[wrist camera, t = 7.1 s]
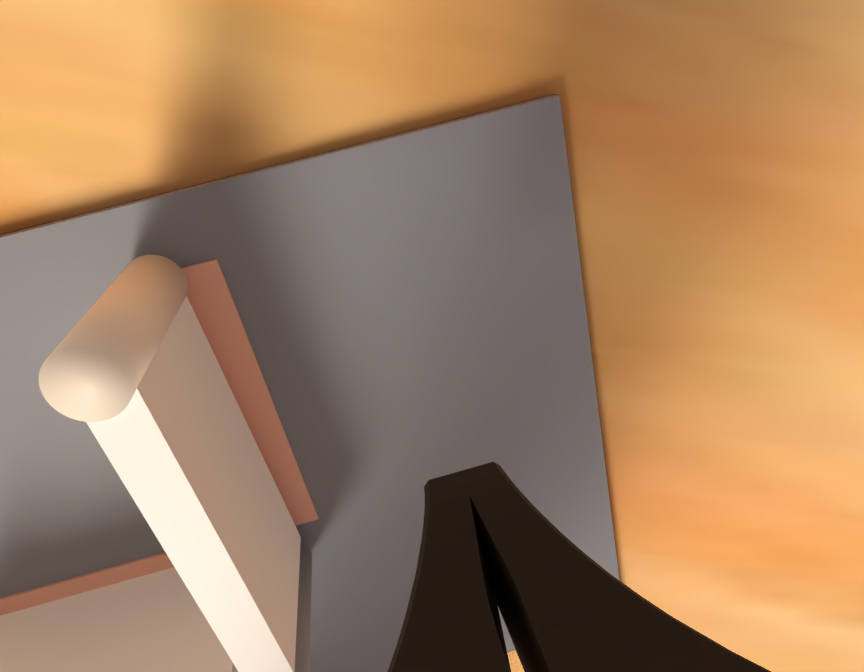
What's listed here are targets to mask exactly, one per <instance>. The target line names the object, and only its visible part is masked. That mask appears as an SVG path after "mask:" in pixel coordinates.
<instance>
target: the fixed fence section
mask: <svg viewBox="0 0 864 672" xmlns="http://www.w3.org/2000/svg"><path fill="white" fill-rule="evenodd" d="M0 672H238V670H237V669H236V667H235V665H234V664H233V662H232V660H231V659H230V657H229V655H228V654H227V652H226V651H225V649H224V647H223V646H222V644H221V642H220V641H219V639H218V637H217V636H216V634H215V632H214V631H213V629H212V628H211V626H210V624H209V623H208V621H207V619H206V618H205V616H204V614H203V613H202V611H201V610H200V608H199V606H198V605H197V603H196V601H195V600H194V598H193V596H192V595H191V593H190V592H189V590H188V588H187V587H186V585H185V583H184V582H183V580H182V578H181V577H180V575H179V574H178V572H177V570H176V569H175V567H173V568H169V569H166V570H162V571H158V572H155V573H151V574H148V575H144V576H141V577H137V578H133V579H130V580H126V581H123V582H119V583H116V584H112V585H108V586H105V587H101V588H98V589H94V590H90V591H87V592H83V593H80V594H76V595H73V596H69V597H65V598H62V599H58V600H55V601H51V602H48V603H44V604H40V605H37V606H33V607H30V608H26V609H23V610H19V611H15V612H12V613H8V614H5V615H1V616H0Z"/></svg>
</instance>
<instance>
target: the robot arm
mask: <svg viewBox="0 0 864 672" xmlns="http://www.w3.org/2000/svg"><path fill="white" fill-rule="evenodd" d="M424 493H425V510H424V522H423V531H422V539H421V545H420V551H419V557H418V563H417V569H416V574H415V579H414V583H413V587H412V591H411V595H410V599H409V603H408V607H407V611H406V615H405V619H404V622H403V626H402V629H401V633H400V636H399V639H398V642H397V646H396V649H395V652H394V654H393V657H392V660H391V663H390V666H389V669H388V672H511V669H510V664H509V659H508V654H507V649H506V644H505V639H504V634H503V629H502V625H501V620H500V615H499V610H500V612H501V615H502V617H503V620H504V622H505V625H506V627H507V629H508V632H509V634H510V637H511V639H512V642H513V644H514V647H515V649H516V651H517V654H518V656H519V659H520V661H521V664H522V666H523V669H524V671H525V672H771V671H769V670H767V669H765V668H763V667H761V666H759V665H757V664H755V663H753V662H751V661H749V660H747V659H745V658H743V657H742V656H740V655H738V654H736V653H734V652H732V651H730V650H728V649H727V648H725V647H723V646H721V645H720V644H718V643H716V642H715V641H713V640H711V639H709V638H708V637H706V636H704V635H702V634H701V633H699V632H697V631H696V630H694V629H692V628H690V627H689V626H687V625H685V624H683V623H682V622H680V621H678V620H677V619H675V618H673V617H672V616H670V615H669V614H667V613H666V612H664V611H663V610H661V609H660V608H658V607H656V606H655V605H653V604H652V603H650V602H649V601H647V600H646V599H644V598H643V597H641V596H640V595H639V594H637V593H636V592H634V591H633V590H632V589H630V588H629V587H627V586H626V585H625V584H623V583H622V582H620V581H619V580H618V579H616V578H615V577H614V576H613V575H611V574H610V573H609V572H607V571H606V570H605V569H604V568H602V567H601V566H600V565H598V564H597V563H596V562H595V561H594V560H592V559H591V558H590V557H589V556H588V555H586V554H585V553H584V552H583V551H582V550H580V549H579V548H578V547H577V546H576V545H575V544H573V543H572V542H571V541H570V540H569V539H568V538H567V537H566V536H564V535H563V534H562V533H561V532H560V531H559V530H558V529H557V528H556V527H555V526H554V525H553V524H552V523H551V522H550V521H549V520H548V519H547V518H546V517H544V516H543V515H542V514H541V513H540V512H539V511H538V510H537V508H536V507H535V506H534V505H533V504H532V503H531V502H530V501H529V500H528V499H527V498H526V497H525V496H524V495H523V494H522V492H521V491H520V490H519V489H518V488H517V487H516V485H515V484H514V483H513V482H512V481H511V479H510V478H509V477H508V476H507V474H506V473H505V472H504V470H503V469H502V467H501V466H500V465H499V464H497V463H495V462H490V463H487V464H483V465H480V466H476V467H473V468H469V469H466V470H462V471H459V472H455V473H451V474H448V475H444V476H441V477H437V478H434V479H430V480H428V482H427V483H426V484H425V486H424ZM498 607H499V610H498Z"/></svg>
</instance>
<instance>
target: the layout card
mask: <svg viewBox="0 0 864 672" xmlns="http://www.w3.org/2000/svg"><path fill="white" fill-rule="evenodd" d="M144 255H160V256H163V257H166V258H168V259H170V260H172V261H173V262H175V263H176V264H177V265H178V266H179V267H180V268H181V269H182V271H183V272H184V274H185V276H186V278H187V282H188V292H187V295H186V296H187V298H188V300H189V302H190V304H191V306H192V308H193V311H194V313H195V315H196V317H197V319H198V321H199V323H200V325H201V327H202V330H203V332H204V334H205V336H206V338H207V340H208V342H209V344H210V346H211V349H212V351H213V353H214V355H215V357H216V359H217V361H218V363H219V365H220V368H221V370H222V372H223V374H224V376H225V378H226V380H227V382H228V384H229V387H230V389H231V391H232V393H233V395H234V397H235V399H236V401H237V403H238V405H239V408H240V410H241V412H242V414H243V416H244V418H245V420H246V422H247V424H248V427H249V429H250V431H251V433H252V435H253V437H254V439H255V441H256V443H257V446H258V448H259V450H260V452H261V454H262V456H263V458H264V460H265V462H266V465H267V467H268V469H269V471H270V473H271V475H272V477H273V479H274V481H275V484H276V486H277V488H278V490H279V492H280V494H281V496H282V498H283V500H284V503H285V505H286V507H287V509H288V511H289V513H290V515H291V517H292V519H293V522H294V524H295V526H296V528H297V530H298V532H299V534H300V536H301V543H302V544H304V545H306V546H307V547H308V548H309V549H310V551H311V553H312V589H311V634H310V672H388V669H389V666H390V663H391V660H392V657H393V654H394V652H395V649H396V646H397V642H398V639H399V636H400V633H401V629H402V626H403V622H404V619H405V615H406V611H407V607H408V603H409V599H410V595H411V591H412V587H413V583H414V579H415V574H416V569H417V563H418V557H419V551H420V545H421V539H422V531H423V522H424V510H425V493H424V486H425V484H426V483H427V482H428V480H430V479H434V478H437V477H441V476H444V475H448V474H451V473H455V472H459V471H462V470H466V469H469V468H473V467H476V466H480V465H483V464H487V463H490V462H495V463H497V464H499V465H500V466H501V467H502V469H503V470H504V472H505V473H506V474H507V476H508V477H509V478H510V479H511V481H512V482H513V483H514V484H515V485H516V487H517V488H518V489H519V490H520V491H521V492H522V494H523V495H524V496H525V497H526V498H527V499H528V500H529V501H530V502H531V503H532V504H533V505H534V506H535V507H536V508H537V510H538V511H539V512H540V513H541V514H542V515H543V516H544V517H546V518H547V519H548V520H549V521H550V522H551V523H552V524H553V525H554V526H555V527H556V528H557V529H558V530H559V531H560V532H561V533H562V534H563V535H564V536H566V537H567V538H568V539H569V540H570V541H571V542H572V543H573V544H575V545H576V546H577V547H578V548H579V549H580V550H582V551H583V552H584V553H585V554H586V555H588V556H589V557H590V558H591V559H592V560H594V561H595V562H596V563H597V564H598V565H600V566H601V567H602V568H604V569H605V570H606V571H607V572H609V573H610V574H611V575H613V576H614V577H615V578H616V579H618V580H619V572H618V564H617V556H616V548H615V539H614V531H613V523H612V515H611V507H610V499H609V491H608V483H607V475H606V466H605V458H604V450H603V442H602V434H601V426H600V418H599V410H598V402H597V393H596V385H595V377H594V369H593V361H592V353H591V345H590V337H589V329H588V320H587V312H586V304H585V296H584V288H583V280H582V272H581V264H580V256H579V247H578V239H577V231H576V223H575V215H574V207H573V199H572V191H571V183H570V174H569V166H568V158H567V150H566V142H565V134H564V126H563V118H562V110H561V101H560V95H556V94H554V95H550V96H546V97H542V98H538V99H534V100H530V101H526V102H522V103H518V104H514V105H510V106H507V107H503V108H499V109H495V110H491V111H487V112H483V113H479V114H475V115H471V116H467V117H463V118H459V119H455V120H451V121H448V122H444V123H440V124H436V125H432V126H428V127H424V128H420V129H416V130H412V131H408V132H404V133H400V134H396V135H392V136H389V137H385V138H381V139H377V140H373V141H369V142H365V143H361V144H357V145H353V146H349V147H345V148H341V149H337V150H333V151H330V152H326V153H322V154H318V155H314V156H310V157H306V158H302V159H298V160H294V161H290V162H286V163H282V164H278V165H274V166H271V167H267V168H263V169H259V170H255V171H251V172H247V173H243V174H239V175H235V176H231V177H227V178H223V179H219V180H215V181H212V182H208V183H204V184H200V185H196V186H192V187H188V188H184V189H180V190H176V191H172V192H168V193H164V194H160V195H157V196H153V197H149V198H145V199H141V200H137V201H133V202H129V203H125V204H121V205H117V206H113V207H109V208H105V209H101V210H98V211H94V212H90V213H86V214H82V215H78V216H74V217H70V218H66V219H62V220H58V221H54V222H50V223H46V224H42V225H39V226H35V227H31V228H27V229H23V230H19V231H15V232H11V233H7V234H3V235H0V616H1V615H5V614H8V613H12V612H15V611H19V610H23V609H26V608H30V607H33V606H37V605H40V604H44V603H48V602H51V601H55V600H58V599H62V598H65V597H69V596H73V595H76V594H80V593H83V592H87V591H90V590H94V589H98V588H101V587H105V586H108V585H112V584H116V583H119V582H123V581H126V580H130V579H133V578H137V577H141V576H144V575H148V574H151V573H155V572H158V571H162V570H166V569H169V568H173V567H174V565H173V564H172V562H171V560H170V559H169V557H168V556H167V554H166V552H165V551H164V549H163V547H162V546H161V544H160V542H159V541H158V539H157V537H156V536H155V534H154V533H153V531H152V529H151V528H150V526H149V524H148V523H147V521H146V519H145V518H144V516H143V515H142V513H141V511H140V510H139V508H138V506H137V505H136V503H135V501H134V500H133V498H132V497H131V495H130V493H129V492H128V490H127V488H126V487H125V485H124V483H123V482H122V480H121V479H120V477H119V475H118V474H117V472H116V470H115V469H114V467H113V465H112V464H111V462H110V461H109V459H108V457H107V456H106V454H105V452H104V451H103V449H102V447H101V446H100V444H99V443H98V441H97V439H96V438H95V436H94V434H93V433H92V431H91V429H90V428H89V426H88V424H87V423H86V422H84V421H78V420H75V419H72V418H69V417H67V416H65V415H63V414H61V413H59V412H58V411H56V410H55V409H54V408H53V407H52V406H51V405H50V404H49V403H48V402H47V401H46V399H45V398H44V396H43V394H42V393H41V390H40V387H39V372H40V368H41V366H42V364H43V363H44V361H45V360H46V359H47V357H48V356H49V355H50V354H51V353H52V352H53V351H54V349H55V348H56V347H57V346H58V345H59V344H60V342H61V341H62V340H63V339H64V338H65V337H66V336H67V334H68V333H69V332H70V331H71V330H72V329H73V327H74V326H75V325H76V324H77V323H78V322H79V321H80V319H81V318H82V317H83V316H84V315H85V314H86V312H87V311H88V310H89V309H90V308H91V307H92V306H93V304H94V303H95V302H96V301H97V300H98V299H99V298H100V296H101V295H102V294H103V293H104V292H105V291H106V289H107V288H108V287H109V286H110V285H111V284H112V283H113V281H114V280H115V279H116V278H117V277H118V276H119V274H120V273H121V272H122V271H123V270H124V269H125V268H126V266H127V265H128V264H129V263H130V262H131V261H133V260H134V259H136V258H138V257H140V256H144ZM619 581H620V580H619ZM498 610H499V607H498ZM499 615H500V620H501V625H502V629H503V634H504V639H505V644H506V649H507V652H510V651H514V650H516V649H515V647H514V644H513V642H512V639H511V637H510V634H509V632H508V629H507V627H506V625H505V622H504V620H503V617H502V615H501V612H500V610H499Z"/></svg>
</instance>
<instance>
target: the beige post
mask: <svg viewBox="0 0 864 672" xmlns="http://www.w3.org/2000/svg"><path fill="white" fill-rule="evenodd" d="M187 292H188V282H187V278H186V276H185V274H184V272H183V271H182V269H181V268H180V267H179V266H178V265H177V264H176V263H175V262H173V261H172V260H170V259H168V258H166V257H163V256H160V255H144V256H140V257H138V258H136V259H134V260H133V261H131V262H130V263H129V264H128V265H127V266H126V268H125V269H124V270H123V271H122V272H121V273H120V274H119V276H118V277H117V278H116V279H115V280H114V281H113V283H112V284H111V285H110V286H109V287H108V288H107V289H106V291H105V292H104V293H103V294H102V295H101V296H100V298H99V299H98V300H97V301H96V302H95V303H94V304H93V306H92V307H91V308H90V309H89V310H88V311H87V312H86V314H85V315H84V316H83V317H82V318H81V319H80V321H79V322H78V323H77V324H76V325H75V326H74V327H73V329H72V330H71V331H70V332H69V333H68V334H67V336H66V337H65V338H64V339H63V340H62V341H61V342H60V344H59V345H58V346H57V347H56V348H55V349H54V351H53V352H52V353H51V354H50V355H49V356H48V357H47V359H46V360H45V361H44V363H43V364H42V366H41V368H40V372H39V387H40V390H41V393H42V394H43V396H44V398H45V399H46V401H47V402H48V403H49V404H50V405H51V406H52V407H53V408H54V409H55V410H56V411H58V412H59V413H61V414H63V415H65V416H67V417H69V418H72V419H75V420H78V421H84V422H86V423H87V424H88V426H89V428H90V429H91V431H92V433H93V434H94V436H95V438H96V439H97V441H98V443H99V444H100V446H101V447H102V449H103V451H104V452H105V454H106V456H107V457H108V459H109V461H110V462H111V464H112V465H113V467H114V469H115V470H116V472H117V474H118V475H119V477H120V479H121V480H122V482H123V483H124V485H125V487H126V488H127V490H128V492H129V493H130V495H131V497H132V498H133V500H134V501H135V503H136V505H137V506H138V508H139V510H140V511H141V513H142V515H143V516H144V518H145V519H146V521H147V523H148V524H149V526H150V528H151V529H152V531H153V533H154V534H155V536H156V537H157V539H158V541H159V542H160V544H161V546H162V547H163V549H164V551H165V552H166V554H167V556H168V557H169V559H170V560H171V562H172V564H173V565H174V567H175V569H176V570H177V572H178V574H179V575H180V577H181V578H182V580H183V582H184V583H185V585H186V587H187V588H188V590H189V592H190V593H191V595H192V596H193V598H194V600H195V601H196V603H197V605H198V606H199V608H200V610H201V611H202V613H203V614H204V616H205V618H206V619H207V621H208V623H209V624H210V626H211V628H212V629H213V631H214V632H215V634H216V636H217V637H218V639H219V641H220V642H221V644H222V646H223V647H224V649H225V651H226V652H227V654H228V655H229V657H230V659H231V660H232V662H233V664H234V665H235V667H236V669H237V670H238V672H310V634H311V589H312V553H311V551H310V549H309V548H308V547H307V546H306V545H304V544H302V543H301V536H300V534H299V532H298V530H297V528H296V526H295V524H294V522H293V519H292V517H291V515H290V513H289V511H288V509H287V507H286V505H285V503H284V500H283V498H282V496H281V494H280V492H279V490H278V488H277V486H276V484H275V481H274V479H273V477H272V475H271V473H270V471H269V469H268V467H267V465H266V462H265V460H264V458H263V456H262V454H261V452H260V450H259V448H258V446H257V443H256V441H255V439H254V437H253V435H252V433H251V431H250V429H249V427H248V424H247V422H246V420H245V418H244V416H243V414H242V412H241V410H240V408H239V405H238V403H237V401H236V399H235V397H234V395H233V393H232V391H231V389H230V387H229V384H228V382H227V380H226V378H225V376H224V374H223V372H222V370H221V368H220V365H219V363H218V361H217V359H216V357H215V355H214V353H213V351H212V349H211V346H210V344H209V342H208V340H207V338H206V336H205V334H204V332H203V330H202V327H201V325H200V323H199V321H198V319H197V317H196V315H195V313H194V311H193V308H192V306H191V304H190V302H189V300H188V298H187V296H186V295H187Z"/></svg>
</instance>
